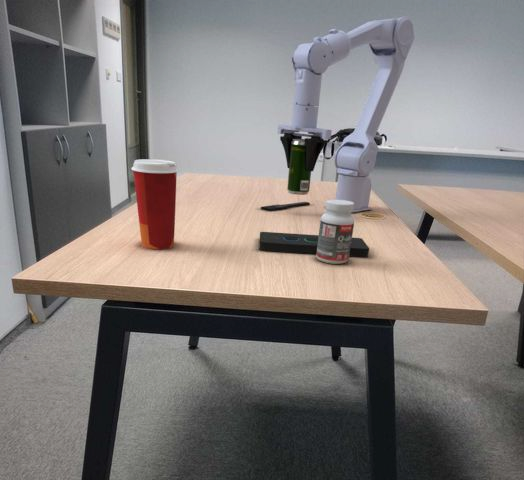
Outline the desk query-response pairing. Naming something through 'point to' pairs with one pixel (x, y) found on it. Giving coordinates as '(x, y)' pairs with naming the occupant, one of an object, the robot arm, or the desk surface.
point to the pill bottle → (335, 232)
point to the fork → (284, 206)
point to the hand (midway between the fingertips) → (300, 169)
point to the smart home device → (303, 244)
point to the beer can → (298, 169)
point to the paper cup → (156, 201)
